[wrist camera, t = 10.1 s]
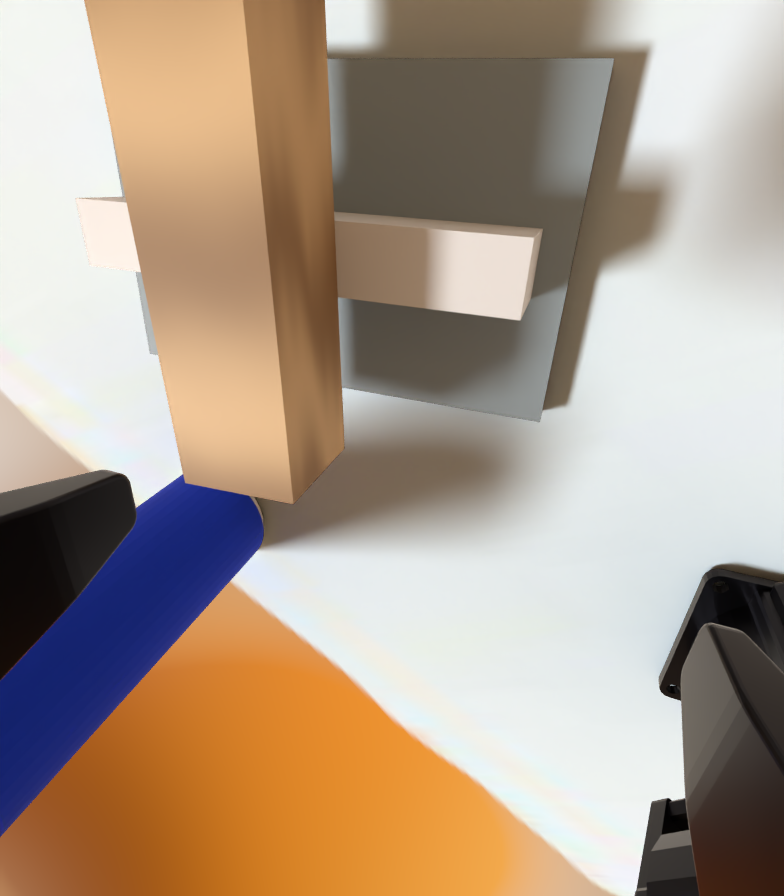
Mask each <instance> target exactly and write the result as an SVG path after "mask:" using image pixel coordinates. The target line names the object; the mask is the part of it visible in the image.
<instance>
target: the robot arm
mask: <svg viewBox="0 0 784 896" xmlns="http://www.w3.org/2000/svg"><path fill="white" fill-rule="evenodd" d="M136 519H137V512H136V507H135V503H134V498H133V493H132V489H131V484H130V481H129V479H128V478H127V477H126V476H125V475H123V474H121V473H117V472H113V471H109V470H98V471H94V472H90V473H85V474H81V475H77V476H73V477H69V478H64V479H59V480H55V481H51V482H46V483H42V484H38V485H34V486H29V487H25V488H21V489H17V490H12V491H8V492H3V493H0V681H1V680H2V679H3V677H4V676H5V675H6V674H7V673H8V672H9V671H10V670H11V669H12V668H13V667H14V666H15V665H16V664H17V663H18V661H19V660H20V659H21V658H22V657H23V656H24V655H25V654H26V653H27V652H28V651H29V650H30V649H31V648H32V647H33V645H34V644H35V643H36V642H37V641H38V640H39V639H40V638H41V637H42V636H43V635H44V634H45V633H46V632H47V631H48V629H49V628H50V627H51V626H52V625H53V624H54V623H55V622H56V621H57V620H58V619H59V618H60V617H61V616H62V615H63V613H64V612H65V611H66V610H67V609H68V608H69V607H70V606H71V605H72V604H73V602H74V601H75V600H76V599H77V598H78V597H79V596H80V594H81V593H82V592H83V591H84V589H85V588H86V587H87V586H88V585H89V583H90V582H91V581H92V579H93V578H94V577H95V576H96V574H97V573H98V572H99V571H100V569H101V568H102V567H103V565H104V564H105V563H106V562H107V560H108V559H109V558H110V557H111V555H112V554H113V553H114V551H115V550H116V549H117V548H118V546H119V545H120V544H121V543H122V541H123V540H124V539H125V537H126V536H127V535H128V534H129V532H130V531H131V530H132V528H133V527H134V525H135V523H136ZM716 582H725V583H724V584H723V585H720V586H718V585H714V583H716ZM670 685H675V686H670ZM659 688H660V690H661V692H662V693H663V694H664V695H665V696H668V697H670V698H674V699H677V700H680V701H681V706H682V731H683V756H684V782H685V798H684V799H679V800H674V801H672V800H670V799H669V798H666V799H662V800H657V801H653V802H652V803H651V808H650V814H649V820H648V826H647V832H646V838H645V844H644V849H643V855H642V861H641V867H640V873H639V879H638V885H637V890H636V892H635V896H784V582H776V581H772V580H768V579H763V578H759V577H754V576H750V575H746V574H741V573H737V572H732V571H728V570H724V569H713V570H710V571H708V572H706V573H705V574H704V576H703V577H702V580H701V582H700V584H699V587H698V589H697V591H696V594H695V596H694V598H693V600H692V603H691V605H690V607H689V610H688V612H687V614H686V616H685V619H684V621H683V623H682V626H681V628H680V630H679V633H678V635H677V637H676V639H675V642H674V644H673V646H672V649H671V651H670V653H669V656H668V658H667V660H666V662H665V665H664V667H663V669H662V672H661V674H660V676H659Z"/></svg>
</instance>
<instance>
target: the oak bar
mask: <svg viewBox="0 0 784 896" xmlns="http://www.w3.org/2000/svg"><path fill="white" fill-rule="evenodd" d="M84 1H85V6H86V11H87V16H88V21H89V25H90V30H91V35H92V40H93V45H94V49H95V54H96V59H97V64H98V68H99V73H100V78H101V83H102V88H103V92H104V97H105V102H106V107H107V112H108V116H109V121H110V126H111V131H112V135H113V140H114V145H115V150H116V155H117V159H118V164H119V169H120V174H121V179H122V183H123V188H124V193H125V198H126V203H127V207H128V212H129V217H130V222H131V226H132V231H133V236H134V241H135V246H136V250H137V255H138V260H139V265H140V270H141V274H142V279H143V284H144V289H145V294H146V298H147V303H148V308H149V313H150V317H151V322H152V327H153V332H154V337H155V341H156V346H157V351H158V356H159V361H160V365H161V370H162V375H163V380H164V385H165V389H166V394H167V399H168V404H169V408H170V413H171V418H172V423H173V428H174V432H175V437H176V442H177V447H178V452H179V456H180V461H181V466H182V471H183V476H184V480H185V483H188V484H193V485H198V486H203V487H208V488H213V489H218V490H223V491H228V492H233V493H238V494H243V495H249V496H254V497H259V498H264V499H269V500H274V501H279V502H284V503H289V504H294V503H295V502H296V501H297V500H298V499H299V498H300V497H301V496H302V494H303V493H304V492H305V491H306V490H307V489H308V488H309V487H310V486H311V485H312V483H313V482H314V481H315V480H316V479H317V478H318V477H319V476H320V475H321V474H322V473H323V471H324V470H325V469H326V468H327V467H328V466H329V465H330V464H331V463H332V462H333V461H334V459H335V458H336V457H337V456H338V455H339V454H340V453H341V452H342V451H343V450H344V448H345V447H344V425H343V402H342V380H341V357H340V334H339V312H338V289H337V267H336V244H335V222H334V199H333V176H332V154H331V131H330V109H329V86H328V63H327V41H326V18H325V0H84Z"/></svg>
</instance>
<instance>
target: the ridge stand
mask: <svg viewBox="0 0 784 896" xmlns="http://www.w3.org/2000/svg"><path fill="white" fill-rule="evenodd" d="M327 63H328V86H329V109H330V131H331V154H332V176H333V199H334V222H335V244H336V267H337V289H338V312H339V334H340V357H341V380H342V387H343V388H348V389H354V390H360V391H365V392H371V393H377V394H382V395H388V396H394V397H400V398H405V399H411V400H417V401H422V402H428V403H434V404H439V405H445V406H451V407H456V408H462V409H468V410H473V411H479V412H485V413H491V414H496V415H502V416H508V417H513V418H519V419H525V420H530V421H536V422H540V419H541V414H542V409H543V404H544V399H545V394H546V390H547V385H548V380H549V375H550V370H551V365H552V360H553V355H554V351H555V346H556V341H557V336H558V331H559V326H560V321H561V316H562V311H563V307H564V302H565V297H566V292H567V287H568V282H569V277H570V272H571V268H572V263H573V258H574V253H575V248H576V243H577V238H578V233H579V228H580V224H581V219H582V214H583V209H584V204H585V199H586V194H587V189H588V185H589V180H590V175H591V170H592V165H593V160H594V155H595V150H596V146H597V141H598V136H599V131H600V126H601V121H602V116H603V111H604V106H605V102H606V97H607V92H608V87H609V82H610V77H611V72H612V67H613V63H614V58H464V59H327ZM111 132H112V131H111ZM112 137H113V135H112ZM113 143H114V140H113ZM114 149H115V145H114ZM115 155H116V150H115ZM116 160H117V166H118V172H119V178H120V184H121V189H122V195H123V197H100V198H76V203H77V208H78V213H79V217H80V222H81V227H82V231H83V236H84V241H85V246H86V250H87V255H88V260H89V264H90V266H97V267H105V268H112V269H120V270H128V271H136V276H137V282H138V287H139V293H140V299H141V305H142V310H143V316H144V322H145V328H146V334H147V339H148V345H149V351H150V354H155V355H158V351H157V346H156V341H155V337H154V332H153V327H152V322H151V317H150V313H149V308H148V303H147V298H146V294H145V289H144V284H143V279H142V274H141V270H140V265H139V260H138V255H137V250H136V246H135V241H134V236H133V231H132V226H131V222H130V217H129V212H128V207H127V203H126V198H125V193H124V188H123V183H122V179H121V174H120V169H119V164H118V159H117V155H116Z"/></svg>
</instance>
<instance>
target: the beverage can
mask: <svg viewBox="0 0 784 896" xmlns="http://www.w3.org/2000/svg"><path fill="white" fill-rule="evenodd" d="M136 512H137V519H136V523H135V525H134V527H133V528H132V530H131V531H130V532H129V534H128V535H127V536H126V537H125V539H124V540H123V541H122V543H121V544H120V545H119V546H118V548H117V549H116V550H115V551H114V553H113V554H112V555H111V557H110V558H109V559H108V560H107V562H106V563H105V564H104V565H103V567H102V568H101V569H100V571H99V572H98V573H97V574H96V576H95V577H94V578H93V579H92V581H91V582H90V583H89V585H88V586H87V587H86V588H85V589H84V591H83V592H82V593H81V594H80V596H79V597H78V598H77V599H76V600H75V601H74V602H73V604H72V605H71V606H70V607H69V608H68V609H67V610H66V611H65V612H64V613H63V615H62V616H61V617H60V618H59V619H58V620H57V621H56V622H55V623H54V624H53V625H52V626H51V627H50V628H49V629H48V631H47V632H46V633H45V634H44V635H43V636H42V637H41V638H40V639H39V640H38V641H37V642H36V643H35V644H34V645H33V647H32V648H31V649H30V650H29V651H28V652H27V653H26V654H25V655H24V656H23V657H22V658H21V659H20V660H19V661H18V663H17V664H16V665H15V666H14V667H13V668H12V669H11V670H10V671H9V672H8V673H7V674H6V675H5V676H4V677H3V679H2V680H1V681H0V837H1V836H2V834H3V833H4V832H5V831H6V830H7V829H8V828H9V827H10V826H11V824H12V823H13V822H14V821H15V820H16V819H17V818H18V817H19V815H20V814H21V813H22V812H23V811H24V810H25V809H26V808H27V807H28V805H29V804H30V803H31V802H32V801H33V800H34V799H35V798H36V797H37V795H38V794H39V793H40V792H41V791H42V790H43V789H44V788H45V786H46V785H47V784H48V783H49V782H50V781H51V780H52V778H54V776H55V775H56V774H57V773H58V772H59V771H60V770H61V769H62V768H63V766H64V765H65V764H66V763H67V762H68V761H69V760H70V759H71V757H72V756H73V755H74V754H75V753H76V752H77V751H78V750H79V749H80V748H81V746H82V745H83V744H84V743H85V742H86V741H87V740H88V739H89V737H90V736H91V735H92V734H93V733H94V732H95V731H96V730H97V729H98V727H99V726H100V725H101V724H102V723H103V722H104V721H105V720H106V719H107V717H108V716H109V715H110V714H111V713H112V712H113V710H115V708H116V707H117V706H118V705H119V704H120V703H121V702H122V701H123V700H124V698H125V697H126V696H127V695H128V694H129V693H130V692H131V691H132V690H133V688H134V687H135V686H136V685H137V684H138V683H139V682H140V680H141V679H142V678H143V677H144V676H145V675H146V674H147V673H148V672H149V671H150V670H151V668H152V667H153V666H154V665H155V664H156V663H157V662H158V661H159V659H160V658H161V657H162V656H163V655H164V654H165V653H166V652H167V651H168V649H169V648H170V647H171V646H172V645H173V644H174V643H175V642H176V641H177V639H178V638H179V637H180V636H181V635H182V634H183V633H184V632H185V631H186V629H187V628H188V627H189V626H190V625H191V624H192V623H193V621H194V620H195V619H196V618H197V617H198V616H199V615H200V614H201V612H203V610H204V609H205V608H206V607H207V606H208V605H209V604H210V603H211V602H212V600H213V599H214V598H215V597H216V596H217V595H218V594H219V593H220V591H221V590H222V589H223V588H224V587H225V586H226V585H227V584H228V583H229V581H230V580H231V579H232V578H233V577H234V576H235V575H236V574H237V573H238V571H239V570H240V569H241V568H242V567H243V566H244V565H245V564H246V563H247V561H248V560H249V559H250V558H251V557H252V556H253V555H254V554H255V552H256V551H257V550H258V549H259V547H260V546H261V543H262V540H263V536H264V524H263V516H262V512H261V509H260V507H259V504H258V502H257V501H256V499H255V497H254V496H249V495H243V494H238V493H233V492H228V491H223V490H218V489H213V488H208V487H203V486H198V485H193V484H188V483H185V480H184V476H183V475H181V476H180V477H179V478H177V479H176V480H174V481H173V482H172V483H170V484H169V485H167V486H166V487H165V488H163V489H162V490H160V491H159V492H158V493H156V494H155V495H154V496H152V497H151V498H149V499H148V500H147V501H145V502H144V503H142V504H141V505H140V506H138V507H137V508H136Z"/></svg>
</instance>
